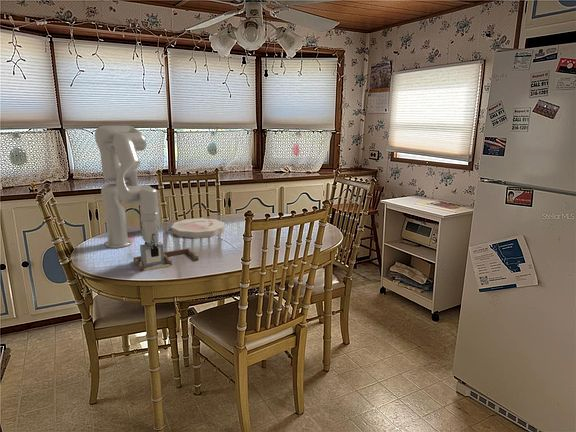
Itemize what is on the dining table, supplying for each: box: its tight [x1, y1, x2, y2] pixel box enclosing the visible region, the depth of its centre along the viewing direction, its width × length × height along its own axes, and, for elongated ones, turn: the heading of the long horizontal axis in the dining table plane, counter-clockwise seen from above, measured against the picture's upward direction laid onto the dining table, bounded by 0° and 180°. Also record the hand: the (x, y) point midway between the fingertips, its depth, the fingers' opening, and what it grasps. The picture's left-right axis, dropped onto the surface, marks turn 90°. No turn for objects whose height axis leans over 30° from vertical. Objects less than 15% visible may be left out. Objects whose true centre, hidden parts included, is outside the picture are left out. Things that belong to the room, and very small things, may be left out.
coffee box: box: [138, 203, 161, 233], centre depth 229 cm, size 9×6×16 cm
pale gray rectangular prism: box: [139, 241, 165, 268], centre depth 182 cm, size 4×9×9 cm, turn 124°
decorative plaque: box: [170, 217, 226, 239], centre depth 236 cm, size 30×4×30 cm
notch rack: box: [133, 248, 200, 272], centre depth 186 cm, size 14×26×3 cm, turn 123°
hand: (151, 253), depth 182 cm, fingers open, 9 cm apart
